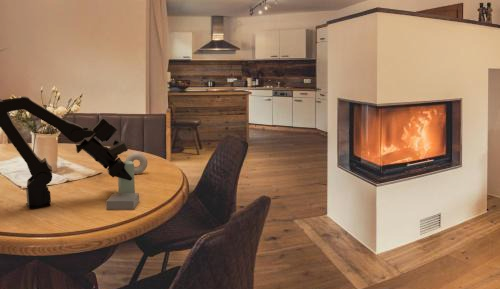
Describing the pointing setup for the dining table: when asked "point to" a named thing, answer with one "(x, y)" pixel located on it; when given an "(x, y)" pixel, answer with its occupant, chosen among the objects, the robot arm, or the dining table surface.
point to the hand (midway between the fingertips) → (130, 177)
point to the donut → (141, 158)
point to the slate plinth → (122, 201)
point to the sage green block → (124, 184)
